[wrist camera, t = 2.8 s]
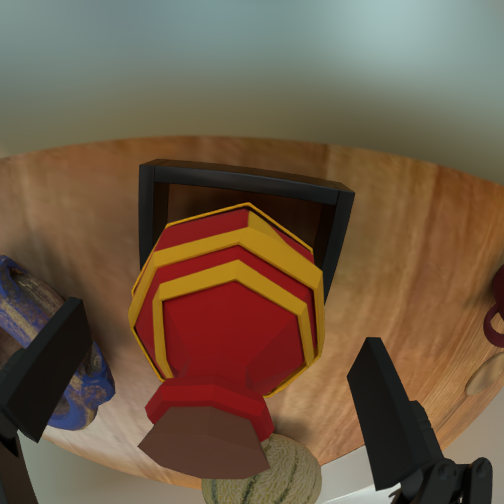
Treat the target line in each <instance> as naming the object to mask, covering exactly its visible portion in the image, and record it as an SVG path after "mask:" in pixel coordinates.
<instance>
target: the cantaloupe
mask: <svg viewBox="0 0 504 504" xmlns="http://www.w3.org/2000/svg"><path fill="white" fill-rule="evenodd" d="M261 445H262V448H263V450H264V453H265V455H266V458H267V460H268V463H269V465H270V467H271V469H268V470H266V471H264V472H261V473H259V474H257V475H254V476H252V477H249V478H246V479H202V493H203V497H204V499H205V502H206V503H207V504H315V503H316V501H317V499H318V497H319V495H320V492H321V488H322V487H321V486H322V475H321V467H320V465H319V462H318V461H317V459H316V458H315V457H314V456H313V454H312V453H311V452H310V450H309V449H308V448H307V447H305V446H304V445H303V444H301V443H299V442H297V441H295V440H293V439H290V438H288V437H286V436H283V435H280V434H274V433H272V434H271V435H270V437H269V438H268V439H266V440H264V441H263V442H261Z"/></svg>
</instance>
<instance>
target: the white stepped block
mask: <svg viewBox="0 0 504 504" xmlns="http://www.w3.org/2000/svg"><path fill="white" fill-rule="evenodd" d="M321 475H322V486H321V487H322V488H321V492H320V495H319V497H318V499H317V501H316V503H315V504H391V502H392V500H393V498H394V497H395V495H394V496H392V497H390V498H389V497H388V496H389V495H390V494H391V493H392V492H394V491H395V490H397V489H399V488H400V487H401V485H400V483H398V484H397V485H395V486H394V487H392V488H388V489H385V490H380V491H376V490H375V486H374V481H373V476H372V472H371V467H370V463H369V459H368V455H367V450H366V446H365V445H364V446H362V447H360V448H358V449H356V450H354V451H352V452H350V453H348V454H346V455H344V456H342V457H340V458H338V459H335V460H333V461H331V462H329V463H327V464H324V465H322V466H321Z"/></svg>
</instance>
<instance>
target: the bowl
mask: <svg viewBox="0 0 504 504" xmlns="http://www.w3.org/2000/svg"><path fill="white" fill-rule="evenodd" d="M64 303H65V301H64V300H63V299H62V298H61V297H60V296H59V295H58V294H57V292H56V291H55V290H53V289H52V288H51V287H49V286H48V285H47V284H46V283H44V282H43V281H41V280H40V279H38V278H36V277H35V276H33V275H32V274H31V273H30V272H29V271H27V270H26V269H24V268H23V267H21V266H19V265H18V264H17V263H15V262H14V261H13V260H12V259H10V258H8V257H7V256H5V255H0V370H1V369H3V366H4V365H5V364H6V363H7V361H8V360H9V358H10V357H11V356H12V354H13V353H14V352H16V351H17V350H19V349H20V348H22V347H23V348H25V349H26V348H27V347H28V346H29V344H30V343H31V342H32V341H33V339H34V338H35V337H36V336H37V334H38V333H39V332H40V331H41V329H42V328H43V327H44V326H45V325H46V323H47V322H48V321H49V320H50V319H51V317H52V316H53V315H54V314H55V313H56V312H57V310H58V309H59V308H60V307H61V306H62V305H63V304H64ZM114 394H115V382H114V379H113V376H112V374H111V371H110V368H109V365H108V363H107V361H106V359H105V357H104V355H103V353H102V351H101V349H100V347H99V346H98V344H97V343H96V342H95V341H94V340H93V344H92V346H91V347H90V349H89V350H88V352H87V354H86V355H85V357H84V359H83V360H82V362H81V364H80V365H79V367H78V369H77V370H76V372H75V374H74V376H73V377H72V379H71V381H70V383H69V384H68V386H67V388H66V390H65V391H64V393H63V395H62V397H61V399H60V401H59V402H58V404H57V406H56V408H55V410H54V412H53V414H52V416H51V418H50V420H49V422H48V424H47V425H49V426H52V427H55V428H59V429H65V430H71V431H77V430H83V429H85V428H86V427H87V426H88V425H89V424H90V423H91V422H92V421H93V420H94V419H95V417H96V415H97V410H98V406H99V405H101V404H103V403H105V402H107V401H109V400H110V399H111V398H112V397H113V396H114Z"/></svg>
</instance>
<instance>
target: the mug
mask: <svg viewBox="0 0 504 504" xmlns="http://www.w3.org/2000/svg"><path fill="white" fill-rule="evenodd" d="M493 293H494V297H495V302H496V304H495V305H493V306H492V307H491V308H490V310H489V311H488V312H487V314H486V316H485V319H484V323H483V330H484V334H485V336H486V338H487V339H488V341H489V342H490V343H491V344H493V345H495V346H497V347H501V348H504V334H500V333H498V332H496V331H495V330H494V329H493V328H492V326H491V323H490V321H491V319H492V318H493V317H494V315H495V314H496V313H498V312H499V314H500V316H501V317H502V319H503V321H504V265H503V266H502V267H501V268H500V269H499V271H498V272H497V274H496V276H495V278H494V282H493Z"/></svg>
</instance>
